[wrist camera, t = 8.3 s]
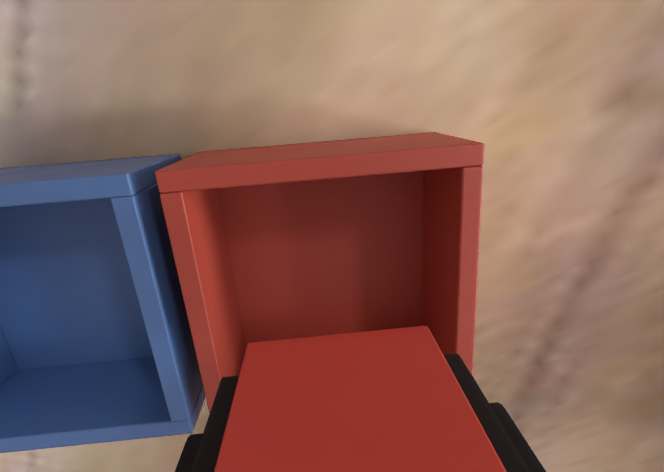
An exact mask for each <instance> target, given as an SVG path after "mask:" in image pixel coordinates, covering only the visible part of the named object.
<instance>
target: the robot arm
mask: <svg viewBox="0 0 664 472" xmlns="http://www.w3.org/2000/svg"><path fill="white" fill-rule="evenodd" d="M444 357H445V359H446V361H447V363H448V365H449V367H450V368H451V370H452V372H453V374H454V376H455V378H456V379H457V381H458V383H459V385H460V387H461V389H462V390H463V392H464V394H465V396H466V398H467V400H468V401H469V403H470V405H471V407H472V409H473V411H474V413H475V414H476V416H477V418H478V420H479V422H480V424H481V425H482V427H483V429H484V431H485V433H486V435H487V436H488V438H489V440H490V442H491V444H492V446H493V447H494V449H495V451H496V453H497V455H498V457H499V459H500V460H501V462H502V464H503V466H504V468H505V470H506V471H507V472H546V471H545V469H544V468H543V466H542V465H541V463H540V462H539V460H538V459H537V457H536V456H535V454H534V453H533V451H532V449H531V448H530V446H529V445H528V443H527V442H526V440H525V439H524V437H523V436H522V434H521V433H520V431H519V429H518V428H517V426H516V425H515V423H514V422H513V420H512V419H511V417H510V416H509V414H508V413H507V411H506V410H505V408H504V407H503V406H502V405H501V404H500V403H488V401H487V399H486V398H485V396H484V395H483V393H482V391H481V390H480V388H479V386H478V385H477V383H476V381H475V380H474V378H473V376H472V375H471V373H470V371H469V370H468V368H467V367H466V365H465V363H464V362H463V360H462V358H461V357H460V355H459V354H447V355H444ZM238 378H239V375H238V376H228V377H222V379H221V381H220V384H219V387H218V390H217V393H216V396H215V399H214V402H213V405H212V408H211V411H210V415H209V418H208V421H207V424H206V427H205V430H204V433H202V434H192V435H190V436H189V437H188V439H187V441H186V443H185V446H184V449H183V451H182V454H181V457H180V459H179V462H178V465H177V468H176V470H175V472H214V470H215V466H216V463H217V459H218V455H219V451H220V447H221V443H222V440H223V436H224V432H225V428H226V424H227V421H228V417H229V413H230V409H231V405H232V401H233V398H234V394H235V390H236V386H237V382H238Z"/></svg>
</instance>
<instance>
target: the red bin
mask: <svg viewBox="0 0 664 472" xmlns="http://www.w3.org/2000/svg"><path fill="white" fill-rule="evenodd" d="M483 163H484V144H483V143H480V142H475V141H471V140H466V139H462V138H457V137H453V136H449V135H444V134H440V133H436V132H433V133H421V134H409V135H397V136H385V137H373V138H361V139H349V140H337V141H325V142H313V143H301V144H289V145H277V146H265V147H253V148H241V149H229V150H217V151H205V152H198V153H196V154H194V155H192V156H189V157H187V158H185V159H182V160H180V161H178V162H175V163H173V164H171V165H169V166H166V167H164V168H162V169H159V170H157V171H155V176H156V180H157V184H158V189H159V192H160V193H161V194H160V199H161V203H162V207H163V212H164V216H165V221H166V225H167V229H168V234H169V238H170V242H171V247H172V251H173V255H174V260H175V264H176V269H177V273H178V277H179V282H180V286H181V290H182V295H183V299H184V303H185V308H186V312H187V317H188V321H189V325H190V330H191V334H192V338H193V343H194V347H195V351H196V356H197V360H198V365H199V369H200V373H201V378H202V382H203V386H204V391H205V395H206V399H207V404H208V408H209V412H210V411H211V408H212V405H213V402H214V399H215V396H216V393H217V390H218V387H219V384H220V381H221V379H222V377H228V376H238V375H240V371H241V367H242V363H243V359H244V356H245V352H246V348H247V344H248V343H253V342H263V341H274V340H284V339H294V338H304V337H314V336H325V335H335V334H345V333H355V332H365V331H375V330H386V329H396V328H406V327H416V326H428V328H429V330H430V332H431V333H432V335H433V337H434V339H435V341H436V343H437V344H438V346H439V348H440V350H441V352H442V354H443V355H447V354H459V355H460V357H461V358H462V360H463V362H464V363H465V365H466V367H467V368H468V370H469V371H470V373H471V375H472V367H473V348H474V330H475V311H476V293H477V274H478V255H479V237H480V218H481V200H482V181H483V166H481V165H483Z"/></svg>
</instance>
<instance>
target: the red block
mask: <svg viewBox="0 0 664 472" xmlns="http://www.w3.org/2000/svg"><path fill="white" fill-rule="evenodd" d="M214 472H507V471H506V470H505V468H504V466H503V464H502V462H501V460H500V459H499V457H498V455H497V453H496V451H495V449H494V447H493V446H492V444H491V442H490V440H489V438H488V436H487V435H486V433H485V431H484V429H483V427H482V425H481V424H480V422H479V420H478V418H477V416H476V414H475V413H474V411H473V409H472V407H471V405H470V403H469V401H468V400H467V398H466V396H465V394H464V392H463V390H462V389H461V387H460V385H459V383H458V381H457V379H456V378H455V376H454V374H453V372H452V370H451V368H450V367H449V365H448V363H447V361H446V359H445V357H444V355H443V354H442V352H441V350H440V348H439V346H438V344H437V343H436V341H435V339H434V337H433V335H432V333H431V332H430V330H429V328H428V326H416V327H406V328H396V329H386V330H375V331H365V332H355V333H345V334H335V335H325V336H314V337H304V338H294V339H284V340H274V341H263V342H253V343H248V344H247V348H246V352H245V356H244V359H243V363H242V367H241V371H240V375H239V378H238V382H237V386H236V390H235V394H234V398H233V401H232V405H231V409H230V413H229V417H228V421H227V424H226V428H225V432H224V436H223V440H222V443H221V447H220V451H219V455H218V459H217V463H216V466H215V470H214Z"/></svg>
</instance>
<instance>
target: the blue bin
mask: <svg viewBox="0 0 664 472" xmlns="http://www.w3.org/2000/svg"><path fill="white" fill-rule="evenodd" d="M178 161H180V157H179V154H170V155H158V156H146V157H134V158H122V159H110V160H98V161H86V162H74V163H62V164H50V165H38V166H26V167H14V168H2V169H0V453H6V452H15V451H25V450H35V449H44V448H54V447H64V446H73V445H83V444H93V443H102V442H112V441H122V440H132V439H141V438H151V437H161V436H170V435H180V434H190V433H192V432H193V430H194V427H195V424H196V422H197V419H198V416H199V413H200V410H201V408H202V405H203V402H204V399H205V396H206V395H205V391H204V386H203V382H202V378H201V373H200V369H199V365H198V360H197V356H196V351H195V347H194V343H193V338H192V334H191V330H190V325H189V321H188V317H187V312H186V308H185V303H184V299H183V295H182V290H181V286H180V282H179V277H178V273H177V269H176V264H175V260H174V255H173V251H172V247H171V242H170V238H169V234H168V229H167V225H166V221H165V216H164V212H163V207H162V203H161V199H160V194H161V193H160V192H159V189H158V184H157V180H156V176H155V171H157V170H159V169H162V168H164V167H166V166H169V165H171V164H173V163H175V162H178Z"/></svg>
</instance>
